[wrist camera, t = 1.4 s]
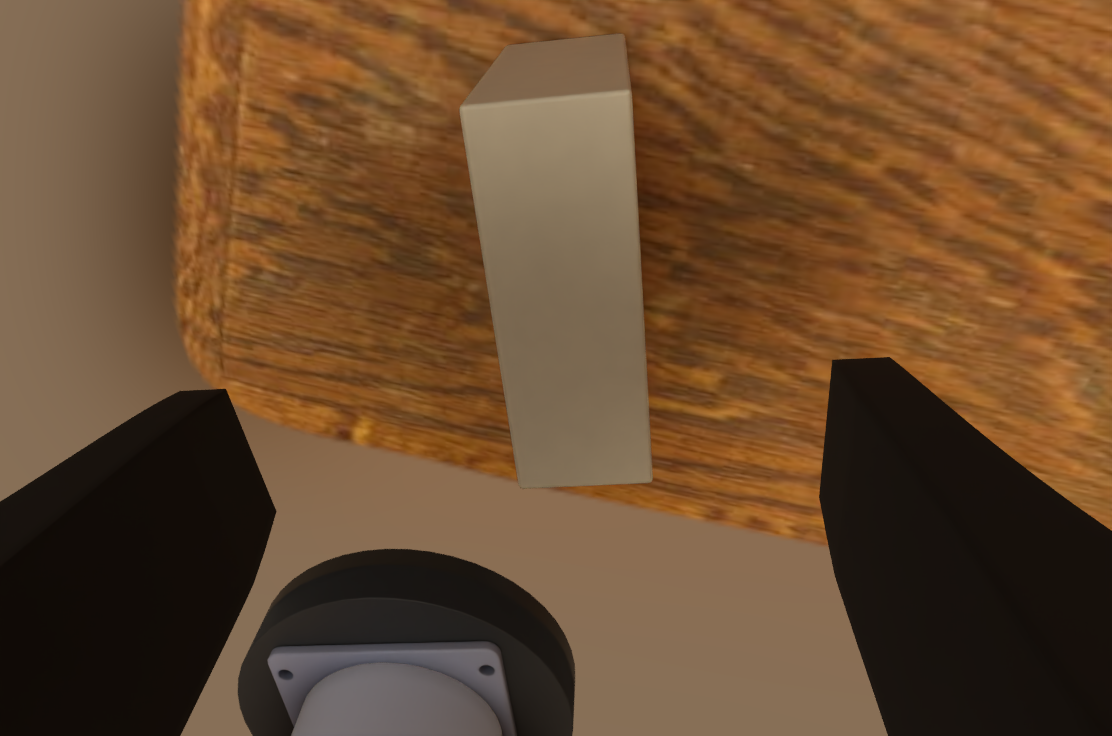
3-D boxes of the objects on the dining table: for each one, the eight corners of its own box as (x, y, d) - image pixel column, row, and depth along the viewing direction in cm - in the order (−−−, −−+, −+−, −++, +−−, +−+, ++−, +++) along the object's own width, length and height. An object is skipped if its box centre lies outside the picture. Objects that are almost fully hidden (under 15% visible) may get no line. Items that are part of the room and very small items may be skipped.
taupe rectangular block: (641, 334, 20) (652, 484, 15) (542, 340, 20) (519, 490, 15) (624, 32, 16) (632, 88, 11) (504, 44, 17) (457, 106, 11)
